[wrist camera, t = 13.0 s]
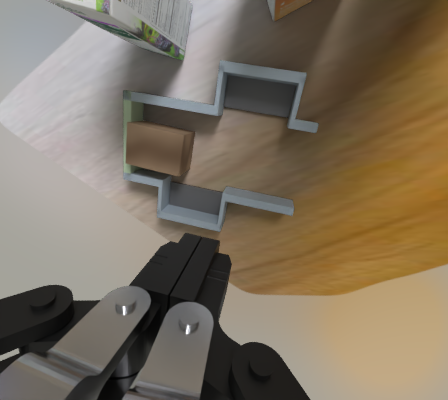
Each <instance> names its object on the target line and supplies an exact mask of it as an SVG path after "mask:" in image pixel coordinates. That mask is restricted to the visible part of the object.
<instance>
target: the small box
mask: <svg viewBox="0 0 448 400" xmlns="http://www.w3.org/2000/svg"><path fill="white" fill-rule="evenodd" d="M311 1H313V0H267V2H268V6H269V9H270V12H271V16H272V19H273V21H274V22H275V21H277V20H278V19H280V18H282V17H284V16H285V15H287V14H289V13H291V12H292V11H294V10H296V9H298V8H300V7H302V6H304V5H306V4H308V3H309V2H311Z"/></svg>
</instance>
